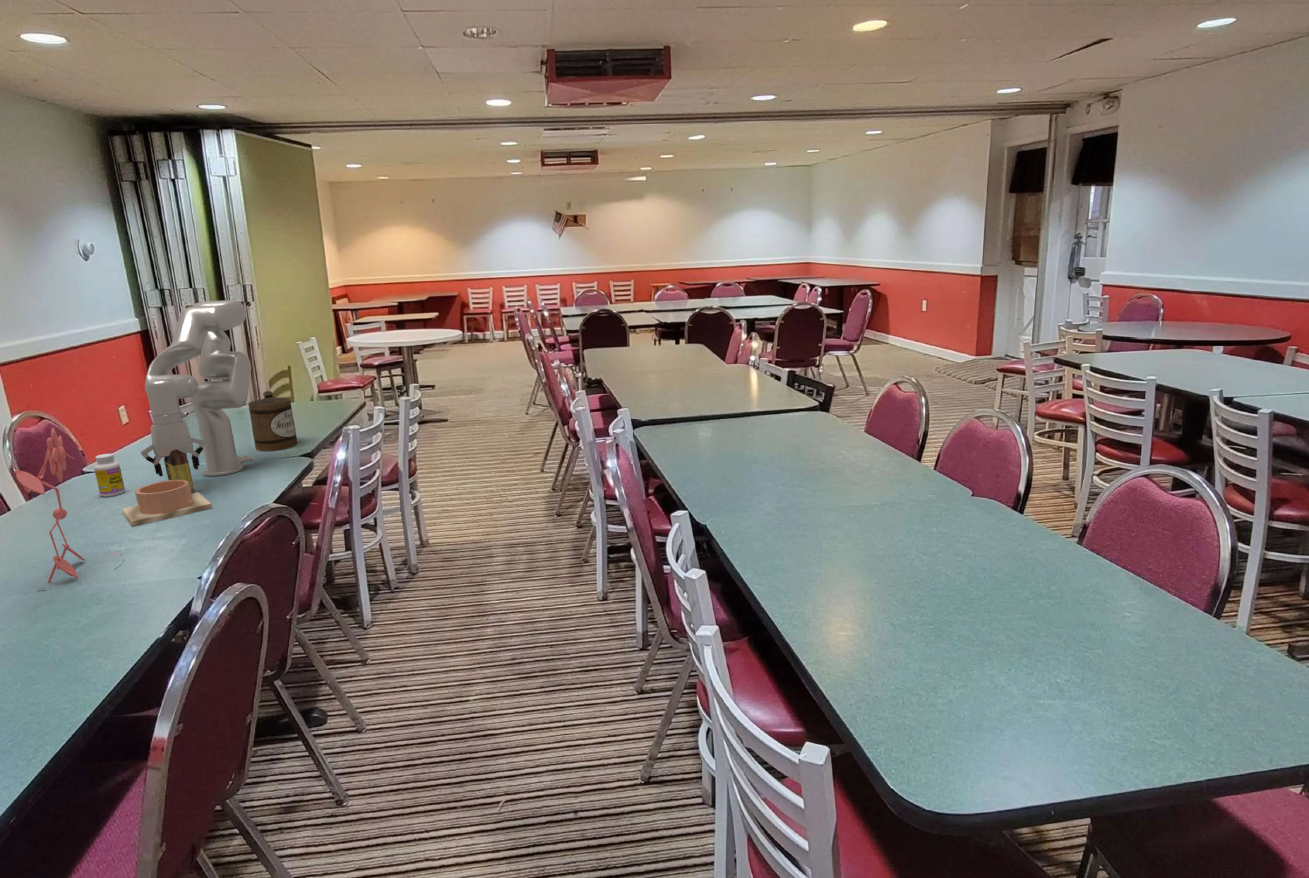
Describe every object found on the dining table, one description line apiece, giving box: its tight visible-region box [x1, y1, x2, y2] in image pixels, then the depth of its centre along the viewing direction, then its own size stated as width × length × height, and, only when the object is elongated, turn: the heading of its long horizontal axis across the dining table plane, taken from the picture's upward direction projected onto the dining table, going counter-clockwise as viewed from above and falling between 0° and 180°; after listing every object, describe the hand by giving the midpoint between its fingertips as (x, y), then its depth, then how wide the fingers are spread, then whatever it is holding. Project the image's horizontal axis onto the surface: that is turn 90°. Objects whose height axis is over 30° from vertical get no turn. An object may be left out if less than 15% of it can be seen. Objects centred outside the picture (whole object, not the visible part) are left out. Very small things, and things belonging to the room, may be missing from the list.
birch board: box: [121, 491, 213, 528], centre depth 221 cm, size 20×16×2 cm
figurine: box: [14, 427, 125, 592], centre depth 177 cm, size 15×26×35 cm, turn 27°
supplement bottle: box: [93, 453, 126, 498], centre depth 238 cm, size 7×7×13 cm
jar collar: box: [134, 480, 193, 514], centre depth 220 cm, size 13×13×6 cm
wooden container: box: [248, 390, 298, 452], centre depth 289 cm, size 15×15×22 cm
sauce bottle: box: [163, 437, 195, 493], centre depth 234 cm, size 6×6×20 cm
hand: (178, 472), depth 235 cm, fingers open, 9 cm apart
